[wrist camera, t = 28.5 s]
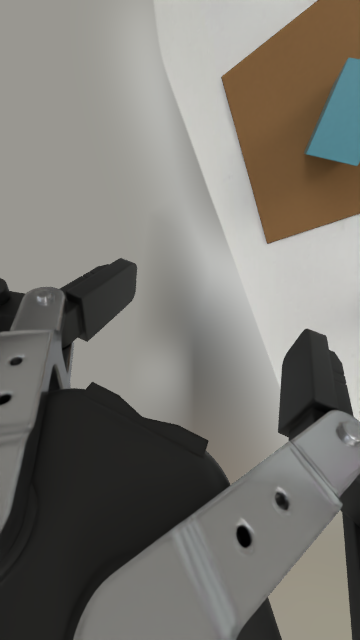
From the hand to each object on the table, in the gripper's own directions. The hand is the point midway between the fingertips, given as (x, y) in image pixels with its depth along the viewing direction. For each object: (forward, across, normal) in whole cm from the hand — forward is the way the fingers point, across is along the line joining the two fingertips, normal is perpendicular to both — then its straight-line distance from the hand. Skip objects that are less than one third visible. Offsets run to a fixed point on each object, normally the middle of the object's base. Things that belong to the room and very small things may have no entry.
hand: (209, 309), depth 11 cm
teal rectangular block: (+28, -4, -9) cm, 29 cm away
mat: (+28, -4, -9) cm, 30 cm away
